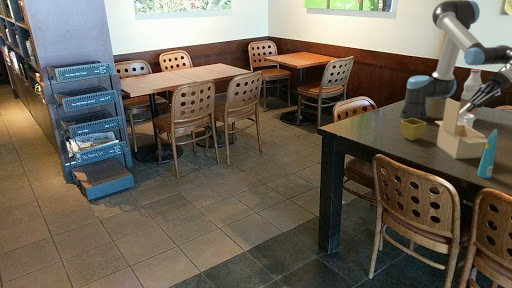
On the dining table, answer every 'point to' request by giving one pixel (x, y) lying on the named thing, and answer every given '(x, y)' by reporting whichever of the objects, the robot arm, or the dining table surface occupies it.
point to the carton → (461, 142)
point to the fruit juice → (471, 89)
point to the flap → (451, 115)
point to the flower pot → (412, 128)
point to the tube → (488, 156)
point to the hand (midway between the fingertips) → (459, 115)
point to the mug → (467, 120)
